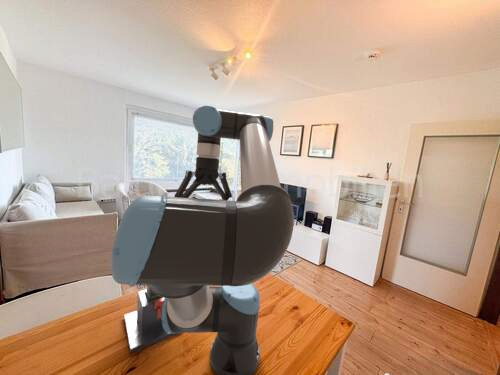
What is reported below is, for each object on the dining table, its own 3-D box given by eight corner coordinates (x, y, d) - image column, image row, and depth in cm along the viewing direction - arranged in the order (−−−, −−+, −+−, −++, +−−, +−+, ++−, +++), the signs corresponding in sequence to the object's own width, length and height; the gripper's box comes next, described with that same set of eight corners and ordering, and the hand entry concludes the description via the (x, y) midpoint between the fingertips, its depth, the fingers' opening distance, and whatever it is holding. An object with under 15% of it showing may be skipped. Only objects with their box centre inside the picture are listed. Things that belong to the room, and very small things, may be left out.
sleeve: (183, 331, 72) (185, 297, 70) (130, 353, 62) (131, 315, 60) (169, 303, 84) (171, 274, 83) (124, 318, 75) (124, 286, 73)
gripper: (233, 159, 80) (228, 212, 83) (166, 153, 65) (163, 218, 68) (244, 160, 74) (239, 218, 77) (173, 154, 59) (170, 225, 62)
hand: (203, 218), depth 73 cm, fingers open, 13 cm apart
